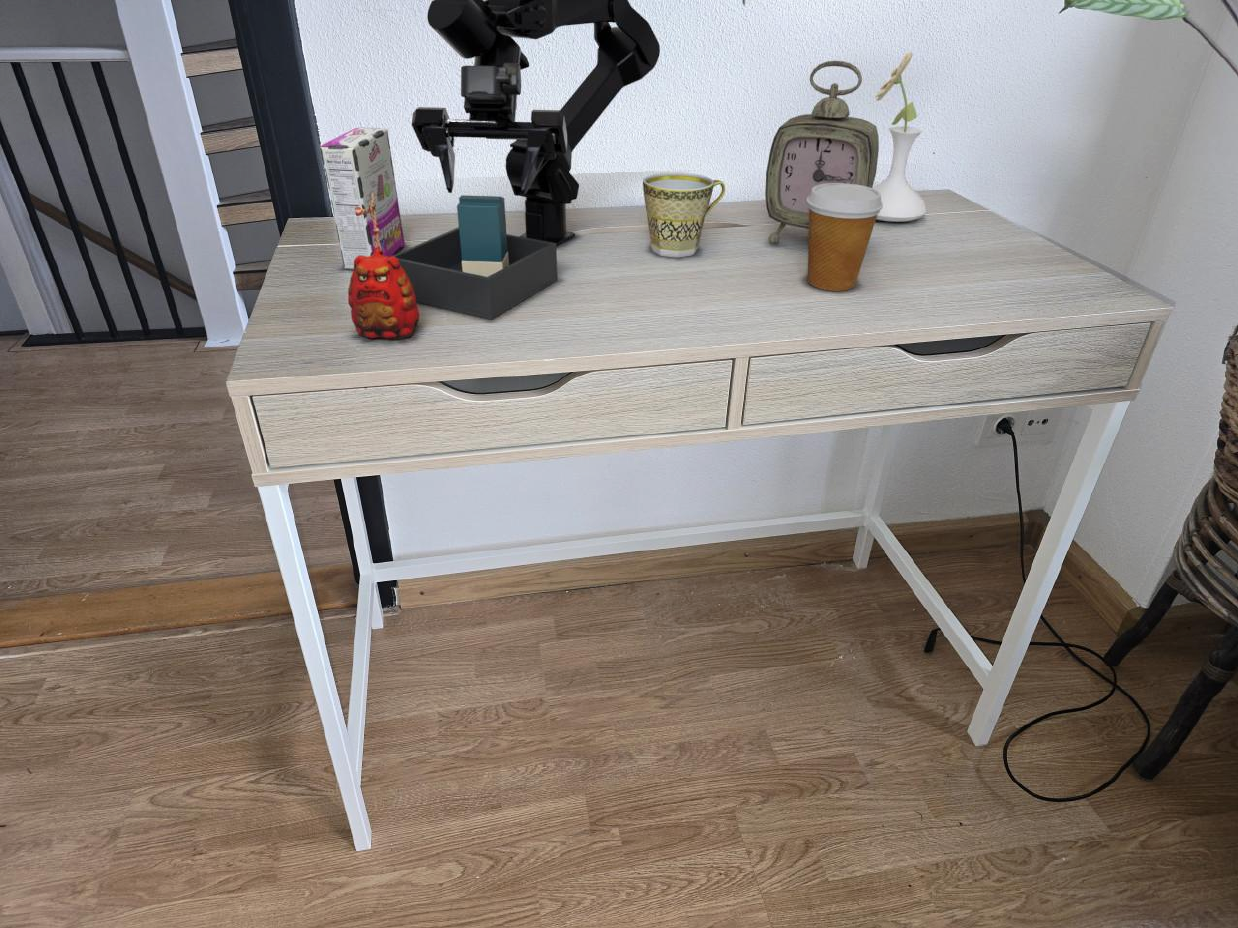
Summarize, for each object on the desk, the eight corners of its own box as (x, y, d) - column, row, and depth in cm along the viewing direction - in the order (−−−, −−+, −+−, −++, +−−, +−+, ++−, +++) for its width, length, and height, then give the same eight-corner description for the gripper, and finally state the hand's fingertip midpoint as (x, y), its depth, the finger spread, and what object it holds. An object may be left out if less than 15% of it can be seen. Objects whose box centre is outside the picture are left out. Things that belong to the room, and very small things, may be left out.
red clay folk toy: (347, 343, 91) (322, 208, 83) (363, 318, 97) (341, 190, 89) (415, 344, 91) (396, 209, 83) (427, 319, 97) (411, 191, 89)
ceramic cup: (662, 265, 114) (665, 193, 108) (628, 245, 121) (630, 176, 116) (739, 252, 119) (745, 182, 114) (702, 233, 126) (707, 167, 121)
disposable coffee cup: (870, 275, 112) (887, 186, 105) (864, 300, 104) (882, 205, 98) (800, 267, 114) (813, 179, 108) (790, 290, 107) (802, 197, 100)
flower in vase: (877, 204, 142) (907, 44, 128) (937, 218, 135) (975, 51, 121) (834, 218, 134) (860, 49, 121) (895, 234, 127) (930, 57, 114)
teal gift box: (471, 281, 106) (463, 192, 100) (510, 283, 106) (504, 193, 100) (464, 293, 103) (455, 201, 96) (504, 294, 103) (498, 202, 96)
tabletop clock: (758, 246, 122) (778, 61, 108) (771, 229, 129) (792, 54, 115) (856, 259, 117) (890, 68, 104) (864, 241, 124) (897, 60, 111)
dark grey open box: (465, 261, 114) (461, 225, 112) (557, 280, 109) (556, 243, 106) (392, 297, 103) (387, 257, 100) (491, 320, 97) (488, 279, 94)
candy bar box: (373, 244, 120) (355, 126, 111) (405, 246, 120) (389, 128, 111) (340, 270, 111) (317, 143, 102) (375, 272, 110) (355, 145, 101)
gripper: (405, 34, 96) (391, 152, 93) (562, 37, 95) (554, 156, 92) (429, 95, 107) (418, 203, 104) (570, 98, 106) (563, 207, 103)
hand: (486, 192), depth 100 cm, fingers open, 9 cm apart
